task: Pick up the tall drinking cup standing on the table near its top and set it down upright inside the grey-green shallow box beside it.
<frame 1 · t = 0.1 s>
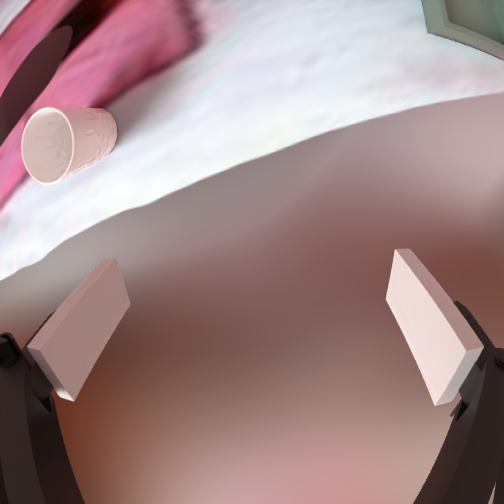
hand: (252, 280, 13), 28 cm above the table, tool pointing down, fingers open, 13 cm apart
grey-green shallow box: (461, 2, 22), on the table
white cup: (96, 133, 37), on the table
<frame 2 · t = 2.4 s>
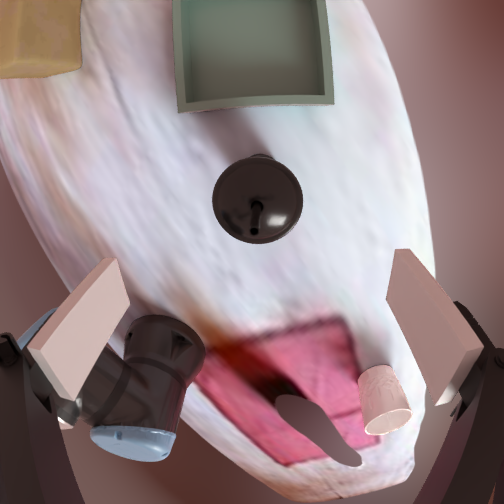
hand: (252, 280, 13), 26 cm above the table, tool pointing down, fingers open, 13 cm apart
drinking cup: (260, 172, 37), on the table
cheese: (70, 12, 25), on the table
grey-green shallow box: (252, 44, 29), on the table
white cup: (375, 376, 53), on the table
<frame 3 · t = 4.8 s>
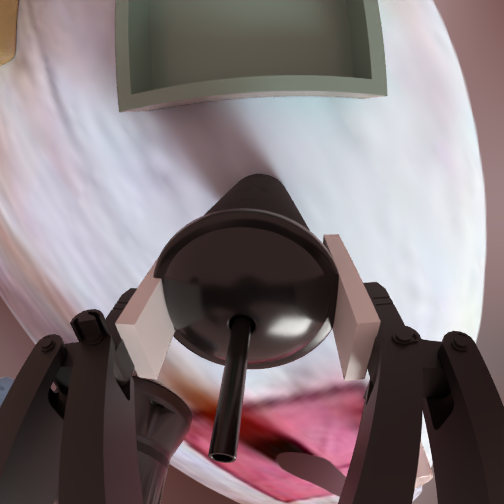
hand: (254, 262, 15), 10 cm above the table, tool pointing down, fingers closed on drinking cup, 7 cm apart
drinking cup: (260, 202, 24), on the table, touching gripper
grey-green shallow box: (246, 1, 16), on the table
white cup: (393, 431, 40), on the table
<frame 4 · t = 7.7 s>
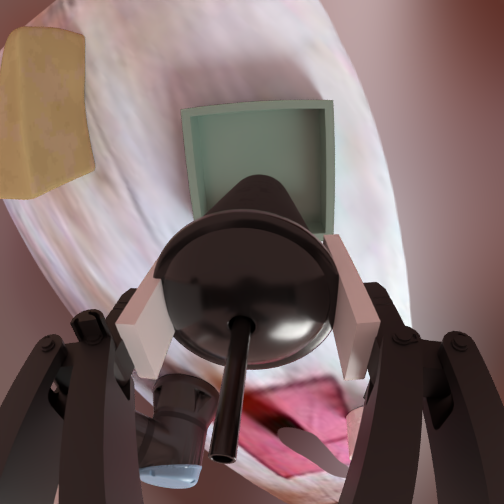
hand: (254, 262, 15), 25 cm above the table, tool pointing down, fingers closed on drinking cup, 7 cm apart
drinking cup: (260, 202, 24), point 15 cm above the table, touching gripper
cheese: (74, 102, 33), on the table
grey-green shallow box: (261, 167, 37), on the table
white cup: (361, 413, 61), on the table
when the fingers open (12 cm above the table, at t = 10.9 s): drinking cup drops 1 cm, resting on grey-green shallow box.
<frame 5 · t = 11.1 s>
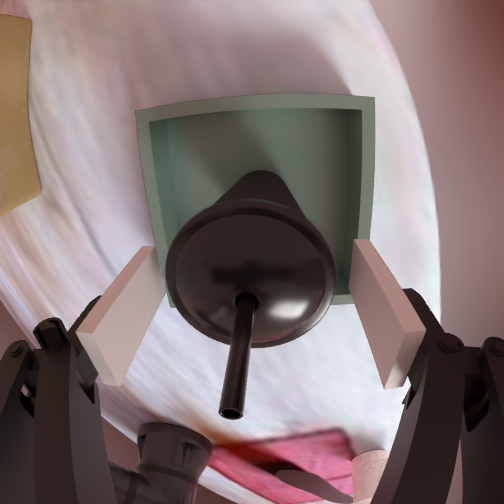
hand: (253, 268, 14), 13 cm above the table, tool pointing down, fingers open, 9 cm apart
drinking cup: (261, 196, 25), point 1 cm above the table, touching grey-green shallow box
cheese: (18, 105, 22), on the table
grey-green shallow box: (261, 194, 26), on the table
white cup: (368, 455, 50), on the table
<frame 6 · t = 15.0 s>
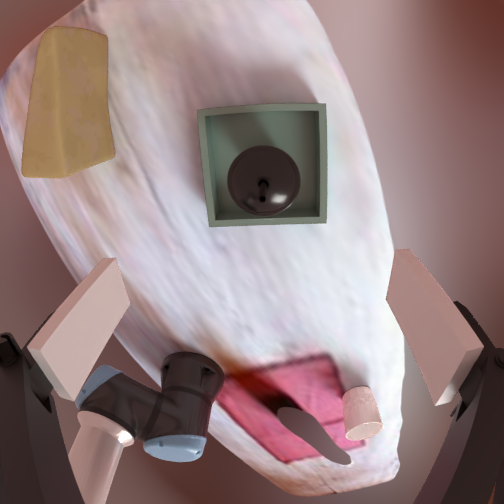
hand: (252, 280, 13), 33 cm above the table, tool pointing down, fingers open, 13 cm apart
drinking cup: (265, 161, 42), point 1 cm above the table, touching grey-green shallow box
cheese: (97, 96, 39), on the table
grey-green shallow box: (265, 160, 43), on the table
white cup: (356, 394, 67), on the table
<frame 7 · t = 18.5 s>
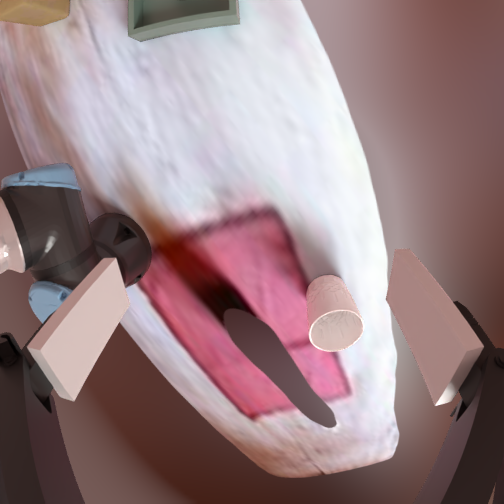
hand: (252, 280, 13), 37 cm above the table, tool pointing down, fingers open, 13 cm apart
white cup: (326, 291, 57), on the table
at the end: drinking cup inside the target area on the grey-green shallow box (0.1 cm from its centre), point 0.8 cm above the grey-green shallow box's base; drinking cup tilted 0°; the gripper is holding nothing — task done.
